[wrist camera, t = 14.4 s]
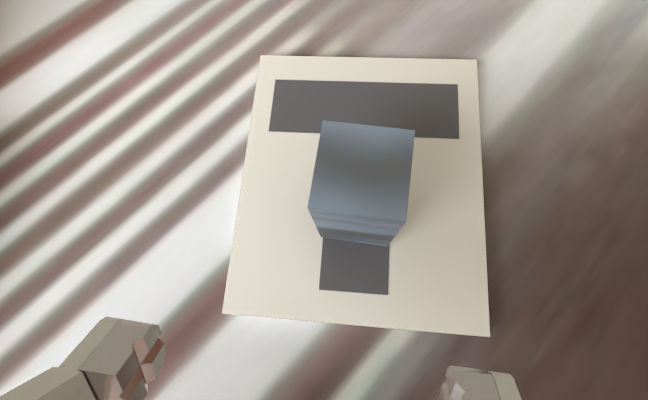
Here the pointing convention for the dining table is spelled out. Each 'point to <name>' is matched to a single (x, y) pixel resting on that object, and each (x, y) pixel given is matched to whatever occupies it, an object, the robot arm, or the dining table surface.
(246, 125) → the dining table surface
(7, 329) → the dining table surface
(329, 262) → the letter board
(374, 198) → the gray block
